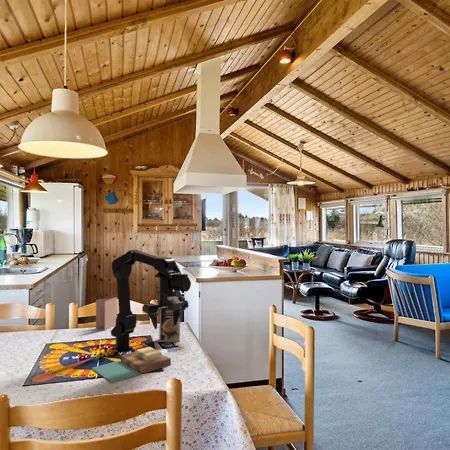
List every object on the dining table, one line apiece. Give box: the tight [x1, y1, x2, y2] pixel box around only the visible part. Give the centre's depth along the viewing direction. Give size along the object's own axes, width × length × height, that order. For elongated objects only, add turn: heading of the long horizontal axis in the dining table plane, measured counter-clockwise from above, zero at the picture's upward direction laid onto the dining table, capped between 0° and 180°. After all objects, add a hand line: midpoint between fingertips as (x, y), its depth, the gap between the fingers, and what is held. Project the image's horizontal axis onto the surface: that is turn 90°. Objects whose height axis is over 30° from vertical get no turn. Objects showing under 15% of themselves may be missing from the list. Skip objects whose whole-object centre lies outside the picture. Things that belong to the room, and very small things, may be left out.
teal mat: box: [91, 360, 141, 384], centre depth 139 cm, size 17×11×1 cm, turn 42°
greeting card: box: [95, 296, 118, 331], centre depth 197 cm, size 11×7×15 cm, turn 130°
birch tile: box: [135, 346, 162, 361], centre depth 148 cm, size 9×6×2 cm, turn 42°
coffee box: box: [158, 306, 181, 343], centre depth 176 cm, size 9×6×16 cm
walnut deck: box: [120, 351, 172, 375], centre depth 147 cm, size 16×13×2 cm
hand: (165, 327), depth 152 cm, fingers open, 9 cm apart
